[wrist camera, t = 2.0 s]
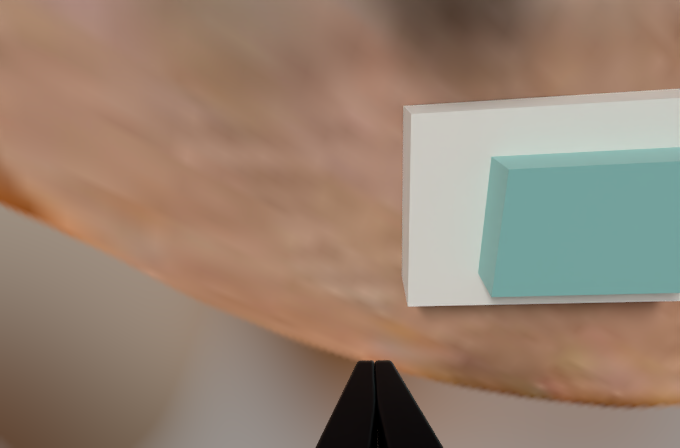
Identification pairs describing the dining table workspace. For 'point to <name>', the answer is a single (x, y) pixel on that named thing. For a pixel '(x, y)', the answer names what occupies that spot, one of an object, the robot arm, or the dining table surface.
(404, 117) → the block
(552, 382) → the dining table surface
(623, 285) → the teal rectangular block
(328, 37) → the dining table surface
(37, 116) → the dining table surface
